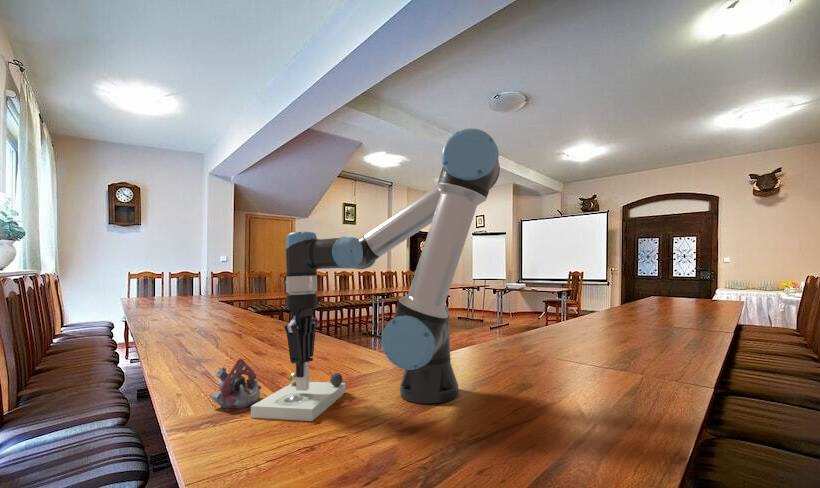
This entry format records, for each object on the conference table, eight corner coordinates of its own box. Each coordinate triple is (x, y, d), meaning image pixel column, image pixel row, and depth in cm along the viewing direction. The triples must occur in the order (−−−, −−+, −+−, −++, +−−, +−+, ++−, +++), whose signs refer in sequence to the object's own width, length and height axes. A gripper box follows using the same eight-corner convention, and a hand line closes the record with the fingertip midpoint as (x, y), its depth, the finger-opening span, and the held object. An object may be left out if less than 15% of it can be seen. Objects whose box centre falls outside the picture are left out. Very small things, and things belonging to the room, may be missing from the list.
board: (294, 390, 99) (294, 381, 99) (345, 392, 96) (345, 383, 96) (250, 417, 81) (250, 406, 81) (312, 421, 78) (312, 409, 78)
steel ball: (304, 404, 87) (302, 392, 86) (298, 413, 84) (296, 401, 83) (291, 403, 87) (289, 392, 86) (285, 412, 84) (283, 401, 83)
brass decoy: (303, 382, 98) (303, 370, 98) (297, 386, 95) (297, 373, 95) (292, 382, 99) (292, 370, 99) (286, 385, 95) (286, 373, 96)
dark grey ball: (344, 384, 95) (344, 371, 96) (339, 387, 92) (339, 375, 93) (333, 383, 96) (333, 371, 96) (328, 387, 93) (328, 374, 93)
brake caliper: (244, 403, 83) (220, 359, 86) (214, 429, 85) (191, 386, 88) (276, 388, 94) (254, 350, 97) (249, 411, 96) (228, 373, 99)
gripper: (300, 292, 98) (301, 381, 95) (273, 295, 85) (274, 398, 83) (326, 291, 96) (327, 382, 94) (303, 294, 83) (304, 399, 81)
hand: (302, 389), depth 88 cm, fingers closed
